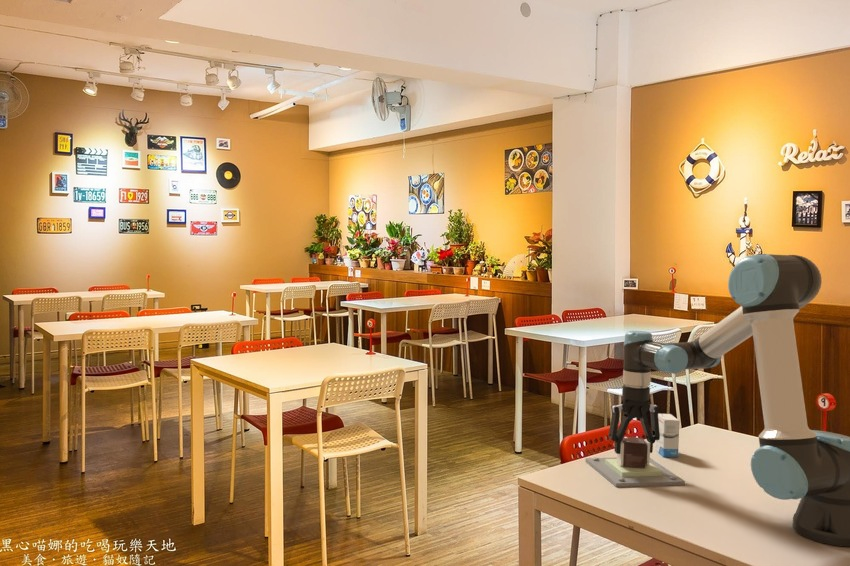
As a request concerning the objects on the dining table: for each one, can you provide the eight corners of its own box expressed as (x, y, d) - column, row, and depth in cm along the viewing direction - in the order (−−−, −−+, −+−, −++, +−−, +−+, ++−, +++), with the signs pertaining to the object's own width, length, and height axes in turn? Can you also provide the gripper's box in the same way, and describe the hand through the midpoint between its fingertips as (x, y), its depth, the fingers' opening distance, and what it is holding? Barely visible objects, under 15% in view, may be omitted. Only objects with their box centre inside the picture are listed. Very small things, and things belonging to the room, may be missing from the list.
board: (684, 484, 194) (685, 476, 194) (615, 486, 191) (616, 479, 191) (648, 459, 215) (648, 452, 215) (585, 461, 212) (585, 454, 212)
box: (645, 469, 200) (646, 443, 199) (623, 467, 201) (624, 442, 200) (642, 462, 206) (643, 437, 205) (620, 460, 207) (621, 436, 206)
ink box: (678, 457, 218) (680, 420, 218) (662, 457, 218) (664, 419, 218) (669, 449, 227) (671, 413, 226) (654, 449, 227) (655, 413, 226)
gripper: (663, 382, 207) (659, 459, 208) (597, 382, 204) (594, 460, 205) (675, 387, 199) (672, 467, 201) (608, 388, 196) (604, 469, 198)
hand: (633, 464), depth 203 cm, fingers closed on box, 7 cm apart
